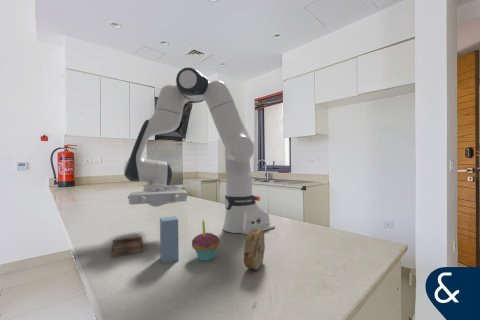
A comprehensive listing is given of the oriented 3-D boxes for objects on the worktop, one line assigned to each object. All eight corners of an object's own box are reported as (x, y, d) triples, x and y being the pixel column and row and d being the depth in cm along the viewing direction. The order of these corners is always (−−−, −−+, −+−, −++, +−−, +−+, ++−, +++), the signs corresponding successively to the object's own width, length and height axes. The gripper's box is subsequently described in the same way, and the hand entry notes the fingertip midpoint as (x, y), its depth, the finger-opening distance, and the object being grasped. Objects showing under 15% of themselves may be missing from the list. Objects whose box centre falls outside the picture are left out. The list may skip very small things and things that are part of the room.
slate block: (175, 254, 73) (175, 216, 73) (178, 260, 68) (178, 219, 69) (160, 257, 71) (160, 217, 71) (162, 263, 67) (162, 221, 67)
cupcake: (215, 264, 65) (214, 221, 65) (186, 262, 67) (186, 220, 67) (223, 252, 74) (223, 214, 74) (197, 251, 75) (197, 213, 75)
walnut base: (141, 243, 83) (141, 236, 83) (143, 251, 75) (143, 244, 75) (112, 247, 79) (112, 240, 79) (111, 257, 71) (111, 249, 71)
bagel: (254, 258, 70) (254, 224, 70) (266, 260, 68) (266, 225, 68) (241, 274, 60) (240, 235, 60) (254, 276, 58) (254, 236, 59)
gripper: (127, 187, 88) (128, 192, 76) (182, 185, 97) (190, 189, 85) (127, 204, 88) (127, 211, 76) (182, 201, 97) (190, 207, 85)
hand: (161, 200), depth 80 cm, fingers open, 8 cm apart
